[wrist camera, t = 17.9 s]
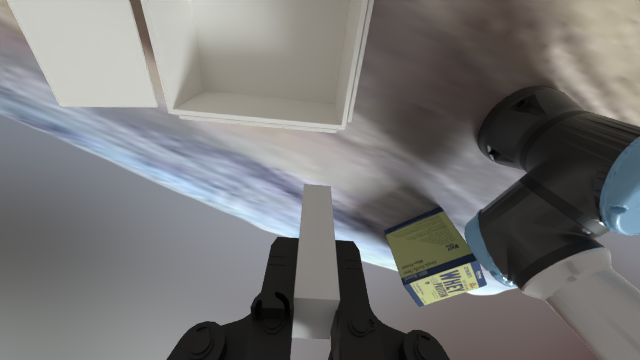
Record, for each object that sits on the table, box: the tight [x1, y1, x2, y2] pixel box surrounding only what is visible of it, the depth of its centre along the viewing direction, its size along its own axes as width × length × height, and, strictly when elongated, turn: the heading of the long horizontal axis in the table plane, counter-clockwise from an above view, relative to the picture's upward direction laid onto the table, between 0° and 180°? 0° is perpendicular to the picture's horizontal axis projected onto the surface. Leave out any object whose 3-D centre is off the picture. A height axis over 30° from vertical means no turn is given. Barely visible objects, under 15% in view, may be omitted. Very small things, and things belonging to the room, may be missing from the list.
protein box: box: [384, 207, 487, 307], centre depth 55 cm, size 10×16×16 cm
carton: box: [141, 0, 374, 133], centre depth 31 cm, size 24×20×12 cm
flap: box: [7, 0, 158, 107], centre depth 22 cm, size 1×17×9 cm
